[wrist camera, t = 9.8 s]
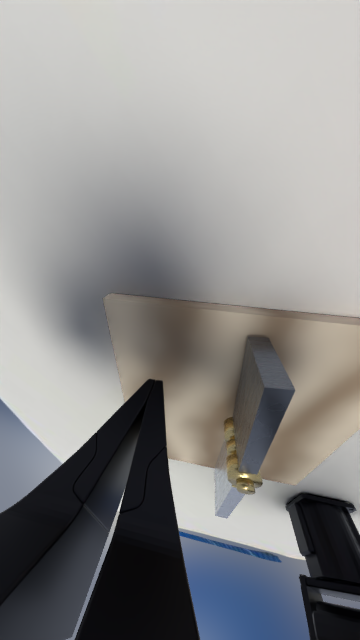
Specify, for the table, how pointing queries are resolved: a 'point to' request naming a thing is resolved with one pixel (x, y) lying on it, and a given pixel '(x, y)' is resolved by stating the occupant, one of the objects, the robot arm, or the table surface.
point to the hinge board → (224, 374)
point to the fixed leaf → (231, 478)
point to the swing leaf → (258, 404)
